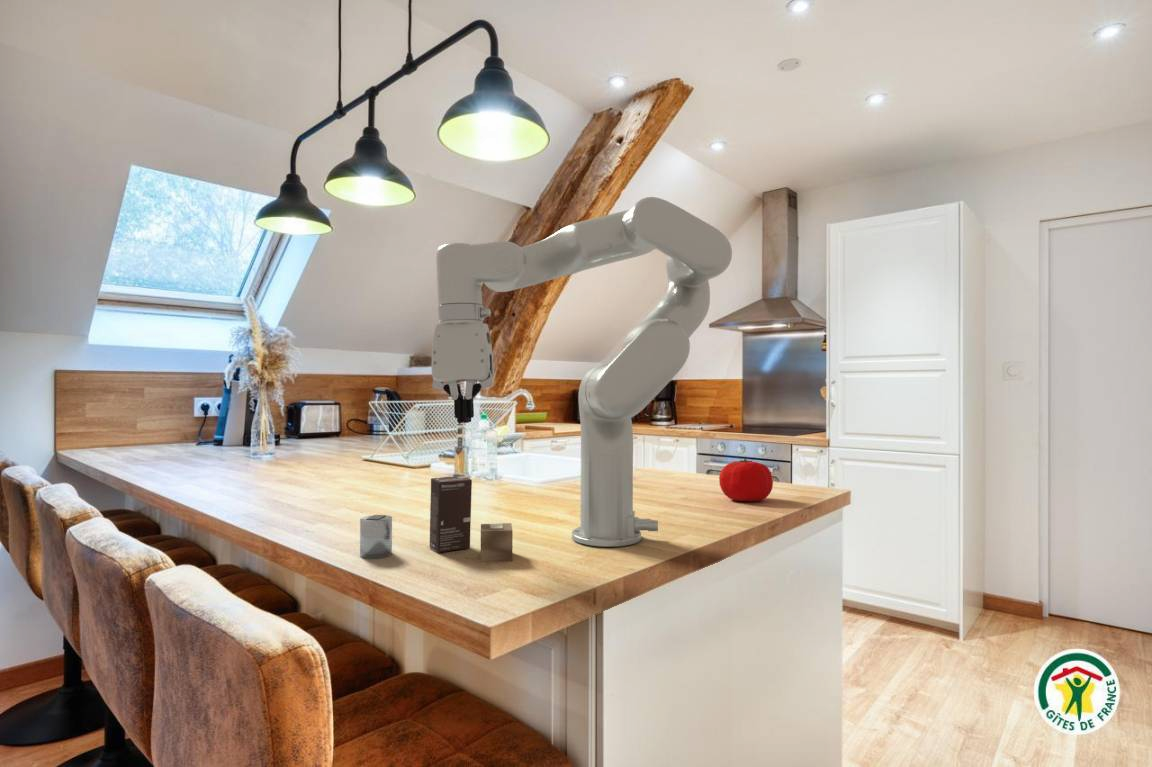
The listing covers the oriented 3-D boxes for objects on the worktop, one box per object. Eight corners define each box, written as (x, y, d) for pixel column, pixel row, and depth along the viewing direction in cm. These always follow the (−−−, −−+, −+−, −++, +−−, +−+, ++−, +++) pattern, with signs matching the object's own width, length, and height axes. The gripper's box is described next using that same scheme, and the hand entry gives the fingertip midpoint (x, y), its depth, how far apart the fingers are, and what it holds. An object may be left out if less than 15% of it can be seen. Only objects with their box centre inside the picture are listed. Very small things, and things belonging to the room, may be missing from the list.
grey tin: (396, 551, 103) (396, 514, 103) (384, 559, 98) (384, 520, 98) (368, 550, 104) (368, 513, 104) (354, 558, 99) (354, 519, 99)
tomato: (778, 505, 143) (779, 461, 143) (724, 504, 144) (724, 460, 144) (764, 496, 155) (764, 455, 155) (713, 495, 155) (714, 455, 155)
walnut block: (511, 553, 103) (511, 521, 103) (512, 561, 98) (512, 529, 98) (481, 554, 102) (481, 522, 102) (480, 562, 97) (480, 530, 97)
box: (438, 554, 101) (438, 481, 101) (429, 548, 105) (429, 477, 105) (472, 549, 105) (472, 478, 105) (462, 543, 109) (462, 475, 108)
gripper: (507, 316, 110) (511, 419, 110) (426, 320, 111) (429, 421, 111) (498, 312, 102) (502, 422, 102) (411, 316, 104) (415, 425, 104)
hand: (464, 422), depth 107 cm, fingers closed
